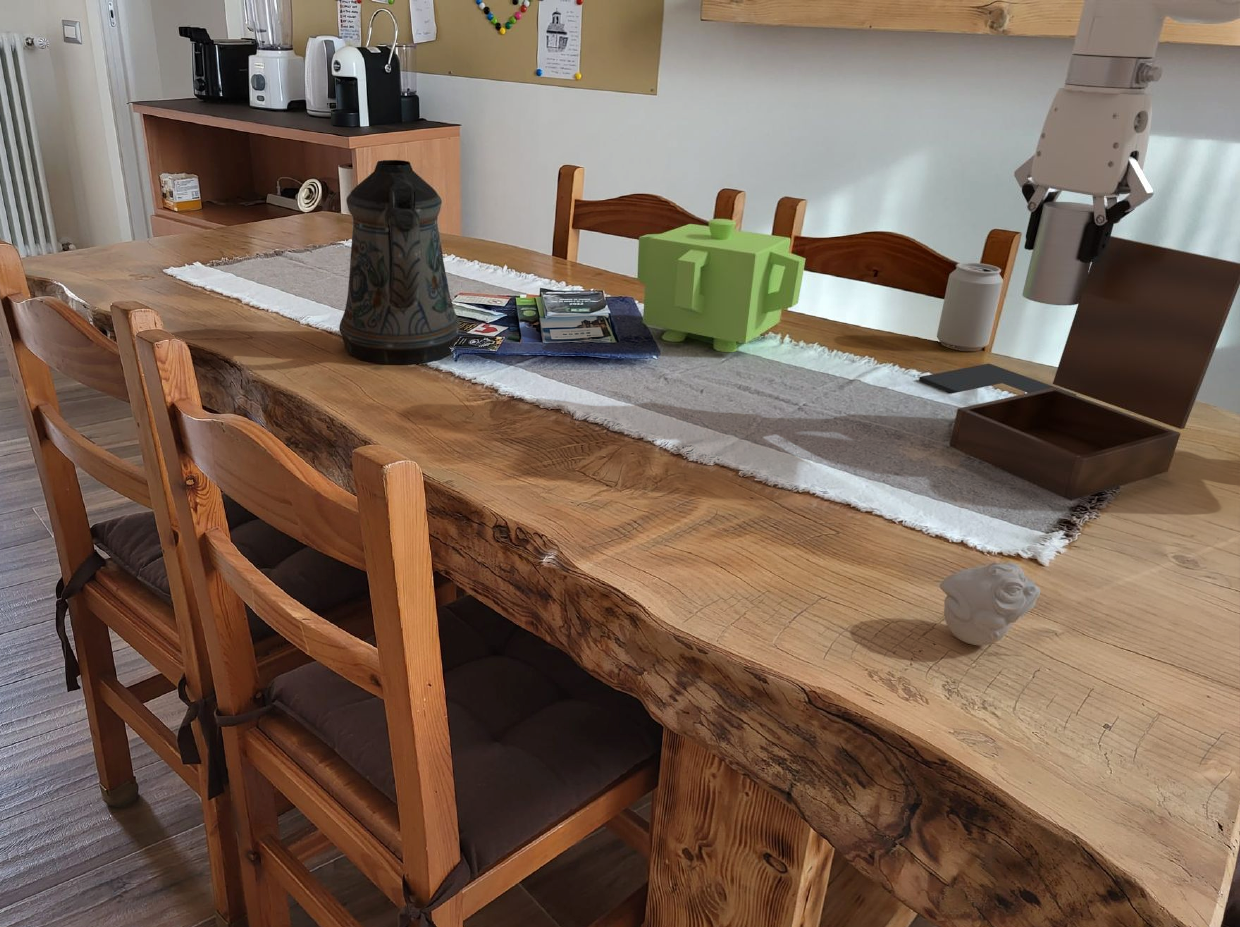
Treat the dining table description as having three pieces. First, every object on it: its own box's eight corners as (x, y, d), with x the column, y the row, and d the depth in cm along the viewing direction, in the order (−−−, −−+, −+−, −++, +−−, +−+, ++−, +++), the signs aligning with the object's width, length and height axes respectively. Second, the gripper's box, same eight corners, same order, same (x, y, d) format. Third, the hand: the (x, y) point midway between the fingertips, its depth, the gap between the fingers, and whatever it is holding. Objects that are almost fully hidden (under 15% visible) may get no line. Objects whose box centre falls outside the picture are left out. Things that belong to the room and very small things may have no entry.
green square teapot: (814, 334, 154) (832, 220, 146) (761, 372, 136) (777, 245, 129) (668, 307, 165) (677, 199, 157) (601, 339, 148) (608, 220, 140)
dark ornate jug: (415, 324, 151) (410, 150, 140) (496, 356, 139) (497, 168, 127) (318, 343, 141) (304, 157, 130) (396, 380, 128) (388, 178, 117)
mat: (987, 367, 142) (988, 363, 142) (1075, 398, 131) (1076, 394, 131) (918, 380, 136) (919, 376, 135) (1004, 414, 125) (1005, 410, 124)
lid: (1243, 264, 99) (1268, 264, 101) (1100, 234, 111) (1125, 235, 113) (1180, 429, 106) (1204, 425, 108) (1052, 384, 118) (1076, 381, 120)
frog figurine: (1022, 672, 75) (1045, 593, 72) (925, 649, 77) (944, 571, 74) (1022, 632, 80) (1044, 556, 77) (932, 611, 82) (949, 537, 79)
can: (997, 348, 150) (1016, 268, 145) (967, 355, 146) (985, 274, 141) (955, 335, 156) (972, 258, 150) (925, 342, 152) (941, 263, 147)
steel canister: (1044, 289, 115) (1066, 200, 111) (1091, 302, 111) (1117, 209, 106) (1010, 294, 112) (1032, 203, 108) (1058, 308, 108) (1082, 212, 103)
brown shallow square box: (1069, 507, 101) (1083, 459, 99) (947, 452, 113) (957, 408, 111) (1165, 477, 109) (1181, 432, 107) (1042, 428, 121) (1053, 387, 119)
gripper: (1213, 82, 96) (1157, 268, 104) (1054, 70, 110) (1016, 237, 118) (1168, 82, 93) (1115, 275, 101) (1010, 70, 106) (974, 242, 114)
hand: (1062, 253), depth 109 cm, fingers closed on steel canister, 6 cm apart
